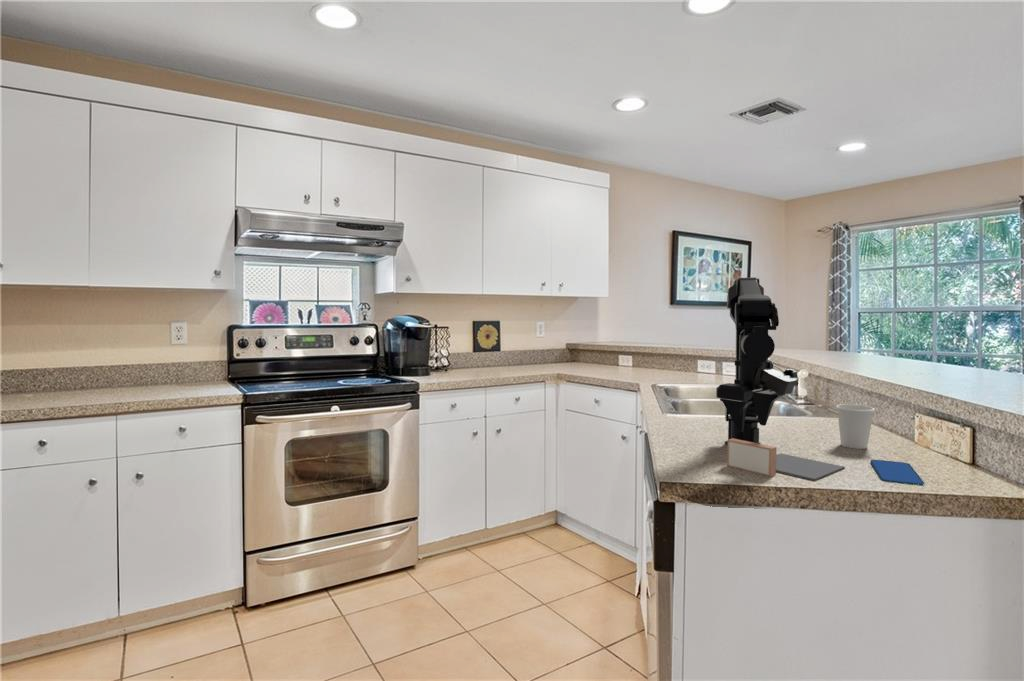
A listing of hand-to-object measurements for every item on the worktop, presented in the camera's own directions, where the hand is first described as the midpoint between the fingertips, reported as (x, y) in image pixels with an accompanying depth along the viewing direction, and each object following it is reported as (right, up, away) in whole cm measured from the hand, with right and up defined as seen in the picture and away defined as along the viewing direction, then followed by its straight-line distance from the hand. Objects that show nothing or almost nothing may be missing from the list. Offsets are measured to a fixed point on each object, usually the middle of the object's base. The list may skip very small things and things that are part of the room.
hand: (751, 428), depth 119 cm
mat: (+11, -9, +2) cm, 14 cm away
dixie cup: (+35, -8, +21) cm, 41 cm away
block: (0, -9, 0) cm, 9 cm away
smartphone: (+30, -10, -2) cm, 31 cm away
